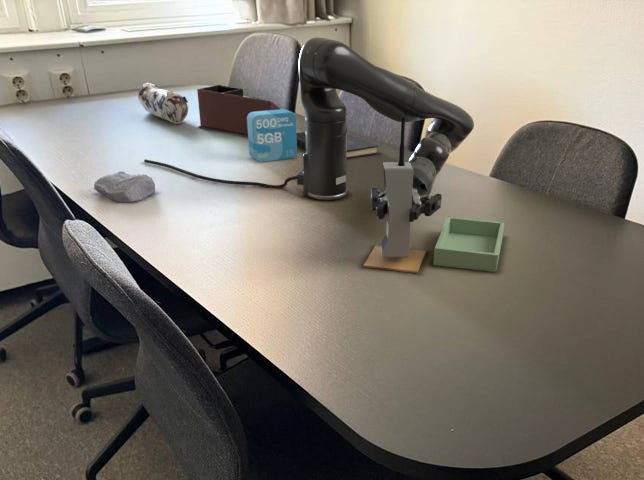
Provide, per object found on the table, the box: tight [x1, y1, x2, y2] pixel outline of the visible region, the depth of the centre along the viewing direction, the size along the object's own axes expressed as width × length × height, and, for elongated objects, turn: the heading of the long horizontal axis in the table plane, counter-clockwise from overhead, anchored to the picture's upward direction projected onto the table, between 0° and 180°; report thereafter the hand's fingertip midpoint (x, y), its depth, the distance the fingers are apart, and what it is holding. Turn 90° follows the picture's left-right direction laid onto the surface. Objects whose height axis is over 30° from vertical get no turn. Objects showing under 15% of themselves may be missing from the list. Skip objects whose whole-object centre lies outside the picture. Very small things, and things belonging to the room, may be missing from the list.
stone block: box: [93, 171, 156, 203], centre depth 160 cm, size 12×5×10 cm
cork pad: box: [363, 244, 427, 274], centre depth 132 cm, size 10×10×1 cm
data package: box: [247, 108, 298, 163], centre depth 186 cm, size 12×4×12 cm, turn 118°
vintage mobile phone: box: [379, 116, 413, 258], centre depth 125 cm, size 4×5×25 cm
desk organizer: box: [196, 84, 281, 138], centre depth 210 cm, size 10×29×11 cm, turn 58°
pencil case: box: [137, 82, 189, 125], centre depth 224 cm, size 22×8×10 cm, turn 38°
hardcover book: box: [296, 131, 380, 160], centre depth 199 cm, size 16×23×2 cm
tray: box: [432, 216, 505, 273], centre depth 136 cm, size 12×18×3 cm, turn 167°
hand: (395, 215), depth 125 cm, fingers closed on vintage mobile phone, 5 cm apart
